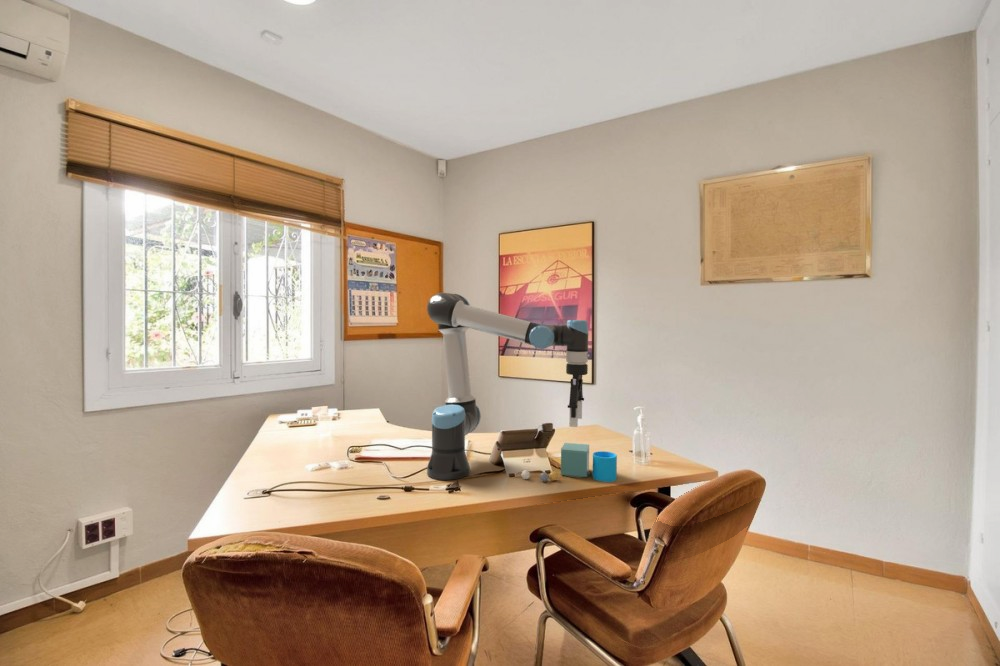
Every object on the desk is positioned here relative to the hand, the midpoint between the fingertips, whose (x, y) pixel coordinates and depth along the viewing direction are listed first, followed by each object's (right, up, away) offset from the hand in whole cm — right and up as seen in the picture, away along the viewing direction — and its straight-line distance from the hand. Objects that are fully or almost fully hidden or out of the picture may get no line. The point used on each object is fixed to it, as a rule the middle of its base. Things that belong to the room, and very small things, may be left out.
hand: (575, 422), depth 167 cm
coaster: (0, -18, +1) cm, 18 cm away
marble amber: (-9, -18, -6) cm, 21 cm away
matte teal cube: (0, -18, +1) cm, 18 cm away
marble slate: (-12, -18, -7) cm, 23 cm away
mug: (+9, -19, -2) cm, 21 cm away
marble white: (-20, -17, -7) cm, 27 cm away
